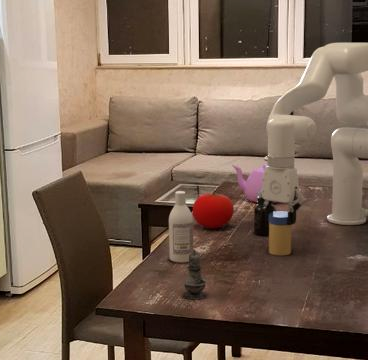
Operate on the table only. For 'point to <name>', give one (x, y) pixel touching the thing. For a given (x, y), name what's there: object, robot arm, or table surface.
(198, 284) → the dark grey figurine
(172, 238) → the bath foam
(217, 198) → the tomato
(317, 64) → the robot arm
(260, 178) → the teapot
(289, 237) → the jar
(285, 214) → the lid
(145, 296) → the table surface
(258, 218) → the supplement bottle
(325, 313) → the table surface
